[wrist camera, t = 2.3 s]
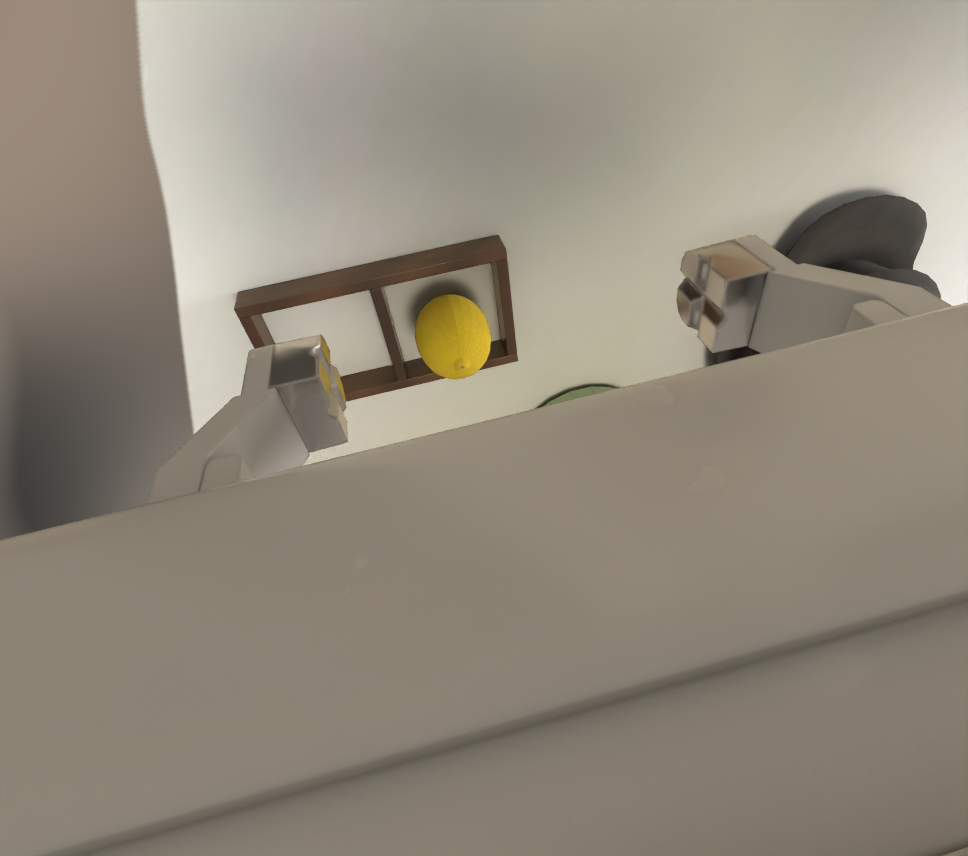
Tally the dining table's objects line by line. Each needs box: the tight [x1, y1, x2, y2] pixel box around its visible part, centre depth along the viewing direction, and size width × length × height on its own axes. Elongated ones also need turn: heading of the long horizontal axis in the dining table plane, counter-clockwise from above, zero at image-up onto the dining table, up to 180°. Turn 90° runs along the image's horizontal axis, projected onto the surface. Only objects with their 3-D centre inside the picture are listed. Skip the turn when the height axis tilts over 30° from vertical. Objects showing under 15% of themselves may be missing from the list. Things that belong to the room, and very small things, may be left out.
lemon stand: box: [234, 235, 518, 401], centre depth 42 cm, size 19×10×2 cm, turn 98°
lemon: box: [415, 294, 491, 379], centre depth 40 cm, size 6×6×8 cm
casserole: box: [715, 195, 941, 365], centre depth 49 cm, size 25×19×8 cm
